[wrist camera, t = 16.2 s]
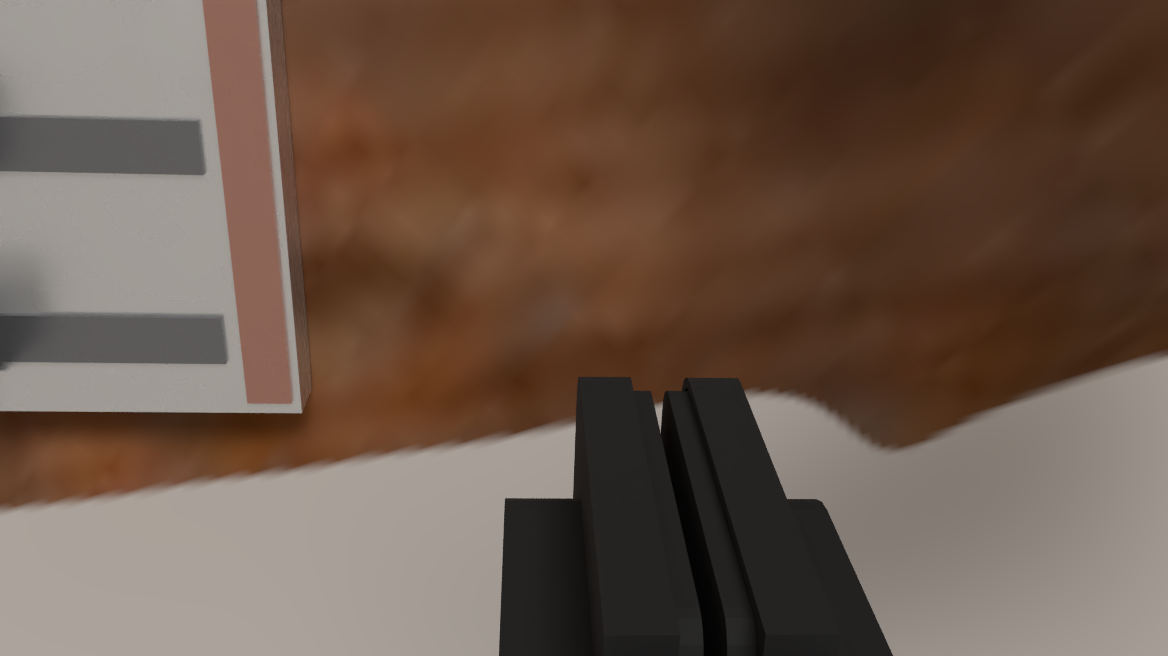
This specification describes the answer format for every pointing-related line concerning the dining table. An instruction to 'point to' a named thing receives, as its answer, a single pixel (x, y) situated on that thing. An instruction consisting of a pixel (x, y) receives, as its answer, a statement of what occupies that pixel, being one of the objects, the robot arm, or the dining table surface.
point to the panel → (148, 209)
